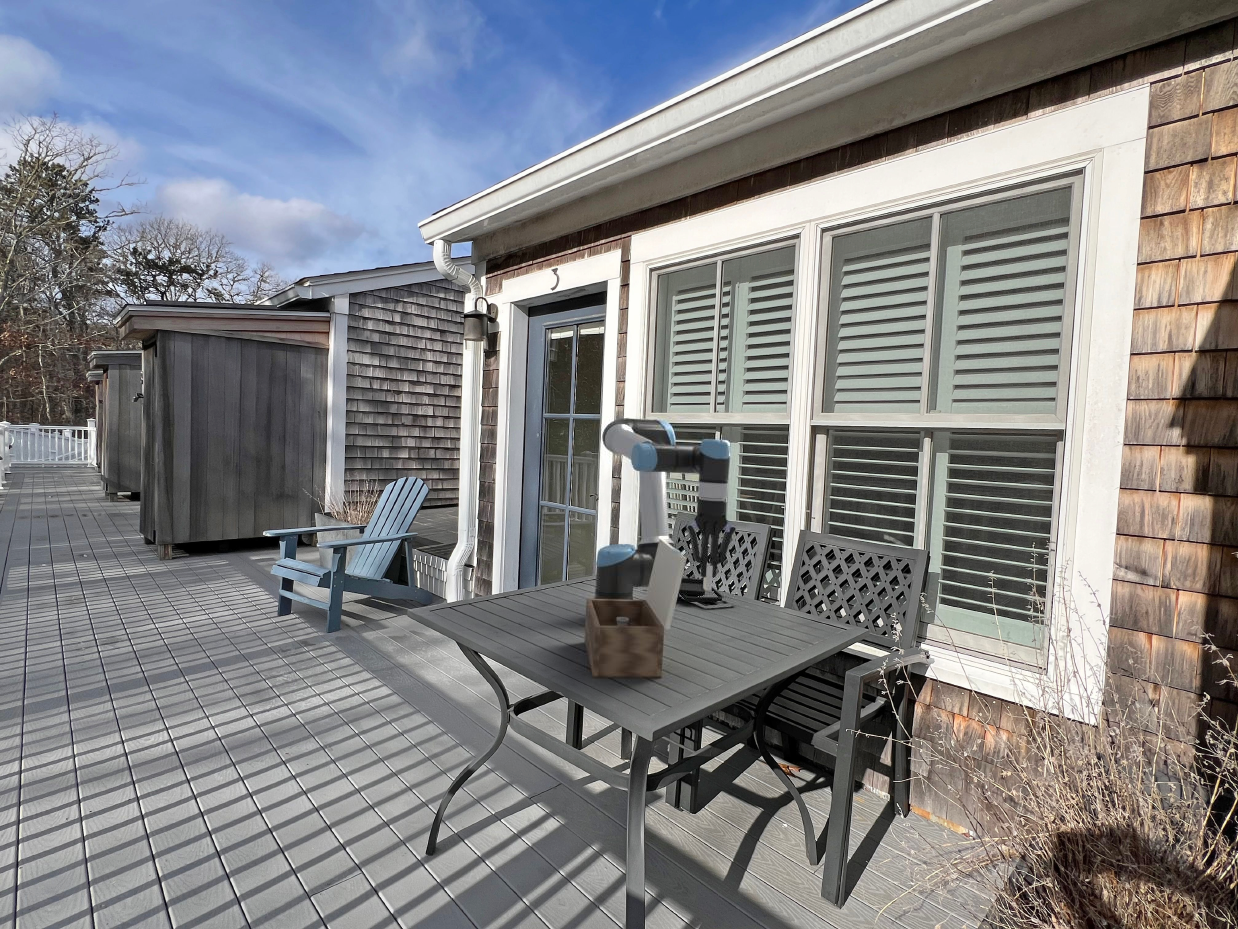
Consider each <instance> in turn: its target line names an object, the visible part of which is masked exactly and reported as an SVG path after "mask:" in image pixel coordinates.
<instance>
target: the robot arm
mask: <svg viewBox="0 0 1238 929" xmlns="http://www.w3.org/2000/svg"><path fill="white" fill-rule="evenodd" d="M601 438H602V439H601V440H602V443H603V446H604V447H605V449H607V450H608V451H609V452H610V453H612V454H614V455H622V456H623V457H625V458H627V459H629V460H630V462H631V466H632V468H633V470H635V471H637V472H639V474H638V476H639V495H640V496H639V497H640V498H639V499H640V518H641V519H640V520H641V523H640V524H641V540H640V541H639V542H638V543H637V549H636V546H635V545H633V544H628V543H625V544H624V543H618V544H617V543H616V544H610V545H606V546H603V547H600V548H599V550H598V552H597V555H596V562H595V568H596V569H595V570H596V571H595V587H594V588H595V589H594V590H595V591H594V597H593V599H618V600H634V598H633V597H634V596H633V593H634V588H648V586H649V582H650V578H651V573H652V569H653V565H654V561H655V557H656V552H657V548H658V544H659V540H660V539H663V540H665V541H666V542H667V543H669V544H670V545H671V546H672V547H673V548H675V542H674V541H673V540H672V539H671V538H670V530H669V528H670V527H669V511H668V495H667V494H668V492H667V491H668V490H667V475H666V473H671V474H672V473H673V474H695V475H696V474H698V489H697V490H698V492H697V496H698V497H699V499H698V500H697V504H696V506H697V507H696V517H694V521H693V522H691V523H690V524H689V523H688V524H686V525H685V529H686V530H687V531H688V533H689V538H690V545H691V549H692V550H691V551H692V555H693V559H694V561H695V562H697V563H699V564H700V573H699V574H700V576H701V578H703V579H704V581H703V589H705V590H706V591H711V589H712V587H713V586H712V584H713V578H716V576H717V566H718V565H719V564H723V563H724V562H725V559H726V556H727V553H728V550H729V546H730V542H731V539H732V536H733V535H734V533H735V532H736V529H737V528H736V527H735V526H733V525H731V524H730V523H729V521H728V519H727V511H728V510H727V509H728V508H727V507H728V502H727V500H726V499H728V493H729V492H728V491H729V490H728V489H729V488H728V485H729V474H730V472H729V471H730V458H731V453H730V447H731V443H730V442H729V440H726V439H716V438H715V439H714V438H710V439H709V438H705V439H702V440H701V441H700V445H693V444H691V445H687V444H685V445H684V444H683V445H682V444H676V435H675V431H674V429H673V426H672V425H671V424H670V423H669V422H668V421H666V420H658V419H647V418H646V419H642V418H629V417H627V418H625V417H623V418H618V419H615V420H613V421H611V422H610V423H608V424H607V425H606V426H605V427H604V429H603V431H602V437H601ZM697 529H698V530H699V532H700V533H701V543H700V544H701V548H700V546H699V543H698V538H697V537H698V536H697V533H696V531H697ZM723 530H724V534H723V537H722V539H721V543H720V547H719V539H720V534H721V533H722V532H723ZM710 538H711V539H710ZM709 543H710V544H709ZM709 545H710V556H709ZM699 548H700V549H699ZM675 549H676V550H677V551H678V552H680V553H681V554H682V552H681V551H680V550H679V549H677V548H675ZM708 557H709V558H710V561H709V560H708ZM708 561H709V562H710V563H708Z"/></svg>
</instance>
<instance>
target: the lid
mask: <svg viewBox="0 0 1238 929" xmlns="http://www.w3.org/2000/svg"><path fill="white" fill-rule="evenodd" d="M676 549H677V548H675V547H674V548H673V547H672V546H671V545H670V544H669V543H667V542H666V541H665V540H663V539H660V540H659V544H658V548H657V552H656V557H655V561H654V565H653V569H652V573H651V578H650V582H649V586H648V587H647V591H646V595H645V599H644V600H646V601H647V603H648V604H649V606H650V607H651V609H652V610H653V612H654V613H655V615H656V616H657V618H658V619H659V621H660V622H661V624H662V625H663V627H664V630H668V631H669V630H671V625H672V621H673V617H674V613H675V609H676V604H677V600H678V598H679V597H678V593H679V588H680V584H681V580H682V578H683V576H684V571H685V568H686V563H687V557H686V556H684V555H683V554H682V552H681V551H680V552H681V553H680V552H678V551H677V550H678V549H677V550H676Z"/></svg>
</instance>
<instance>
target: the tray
mask: <svg viewBox="0 0 1238 929" xmlns="http://www.w3.org/2000/svg"><path fill="white" fill-rule="evenodd" d="M703 581H704V578H694V577H693V578H692V577H691V578H689V577H682V580H681V584H680V588H679V593H678V594H680V595H681V596H682V597H683V598H684V599H685V600H686V602H687V603H690V602H698V603H700V604H703V605H707V606H708V605H709V604H705V603H718V602H717V601H722V598H724V597H725V596H723V594H721V593H720V592H719V591H718V590H716V588H715V587H713V586H712V589H711V590H712V591H714V593H715V594H716V595H717V596H718V597H700V596H703V595H705V591H706V590H705V589H703ZM698 596H699V597H698ZM685 600H684V601H685Z"/></svg>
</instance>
